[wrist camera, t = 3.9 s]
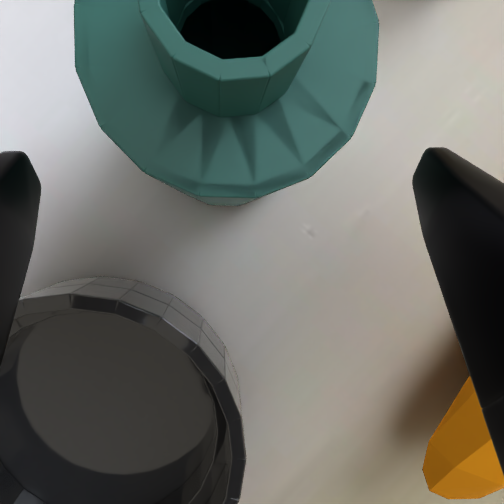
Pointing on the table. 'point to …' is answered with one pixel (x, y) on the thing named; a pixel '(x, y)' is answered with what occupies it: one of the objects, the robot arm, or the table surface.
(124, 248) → the table surface
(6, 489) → the pan
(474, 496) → the corn
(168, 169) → the bottle
